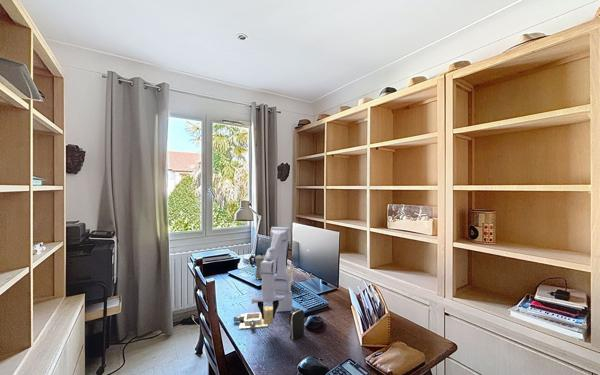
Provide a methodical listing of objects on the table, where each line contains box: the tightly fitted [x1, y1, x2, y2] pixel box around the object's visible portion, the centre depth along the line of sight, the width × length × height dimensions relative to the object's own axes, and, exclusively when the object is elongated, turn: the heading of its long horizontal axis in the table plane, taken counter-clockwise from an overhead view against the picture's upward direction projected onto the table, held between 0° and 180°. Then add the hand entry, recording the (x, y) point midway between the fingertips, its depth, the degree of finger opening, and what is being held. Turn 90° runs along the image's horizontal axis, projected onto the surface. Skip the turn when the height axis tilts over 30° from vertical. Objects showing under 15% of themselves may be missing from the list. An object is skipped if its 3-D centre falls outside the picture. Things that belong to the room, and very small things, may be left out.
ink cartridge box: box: [286, 263, 294, 285], centre depth 169 cm, size 9×5×15 cm, turn 148°
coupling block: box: [263, 305, 274, 325], centre depth 117 cm, size 4×5×6 cm
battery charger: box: [288, 308, 305, 341], centre depth 115 cm, size 7×4×11 cm, turn 134°
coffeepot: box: [248, 252, 266, 280], centre depth 187 cm, size 15×9×18 cm, turn 88°
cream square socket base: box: [233, 311, 269, 331], centre depth 126 cm, size 16×15×3 cm
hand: (268, 317), depth 117 cm, fingers closed on coupling block, 4 cm apart
